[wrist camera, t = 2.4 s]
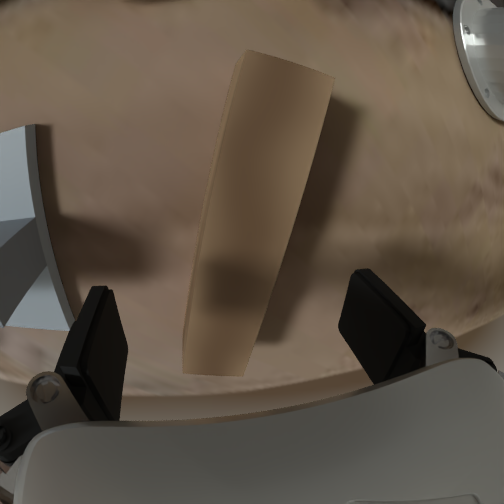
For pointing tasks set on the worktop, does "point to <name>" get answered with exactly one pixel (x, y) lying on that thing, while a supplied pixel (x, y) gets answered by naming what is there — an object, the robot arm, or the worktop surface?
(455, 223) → the worktop surface
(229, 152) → the wooden bar
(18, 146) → the ridge block
